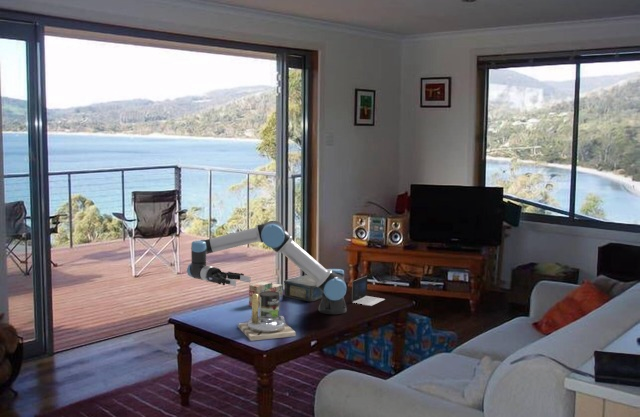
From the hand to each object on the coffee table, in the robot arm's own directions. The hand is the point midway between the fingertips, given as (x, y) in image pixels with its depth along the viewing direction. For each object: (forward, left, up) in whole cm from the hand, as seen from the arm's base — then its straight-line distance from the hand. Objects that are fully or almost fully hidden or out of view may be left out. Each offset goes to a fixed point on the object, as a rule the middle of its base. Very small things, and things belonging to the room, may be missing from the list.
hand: (242, 281), depth 322 cm
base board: (+7, +10, -24) cm, 27 cm away
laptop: (-29, +83, -25) cm, 91 cm away
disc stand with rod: (+7, +10, -22) cm, 25 cm away
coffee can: (-11, +17, -24) cm, 32 cm away
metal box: (-54, +58, -25) cm, 83 cm away
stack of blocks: (-43, +26, -24) cm, 56 cm away
